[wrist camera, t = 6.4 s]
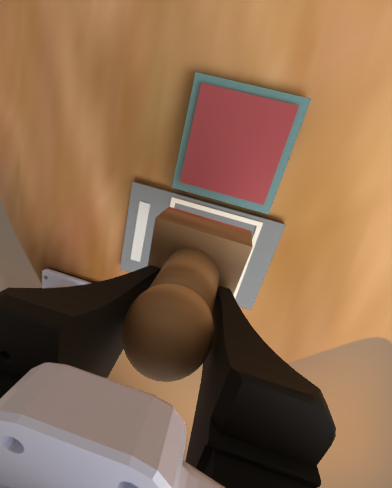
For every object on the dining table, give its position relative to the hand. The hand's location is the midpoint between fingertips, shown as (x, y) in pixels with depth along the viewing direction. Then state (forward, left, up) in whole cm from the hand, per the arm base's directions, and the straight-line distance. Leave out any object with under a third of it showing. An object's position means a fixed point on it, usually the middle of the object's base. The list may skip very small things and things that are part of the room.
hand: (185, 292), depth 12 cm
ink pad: (+8, 0, -10) cm, 13 cm away
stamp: (+1, 0, -3) cm, 3 cm away
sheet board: (-1, +1, -10) cm, 10 cm away
